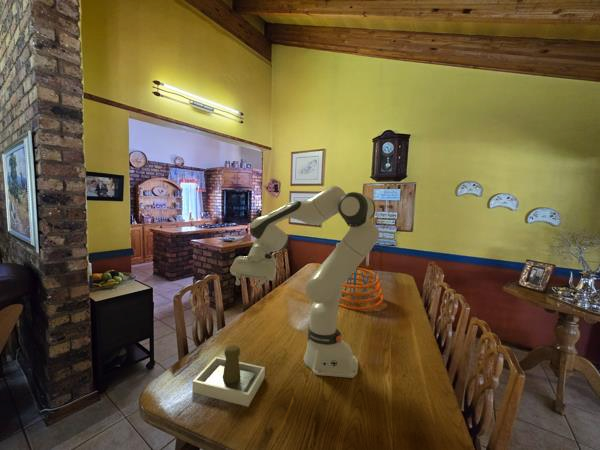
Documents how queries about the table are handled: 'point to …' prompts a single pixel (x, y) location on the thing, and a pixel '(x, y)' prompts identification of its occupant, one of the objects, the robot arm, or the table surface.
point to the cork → (231, 364)
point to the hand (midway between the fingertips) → (247, 286)
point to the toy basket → (363, 289)
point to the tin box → (240, 385)
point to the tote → (224, 392)
